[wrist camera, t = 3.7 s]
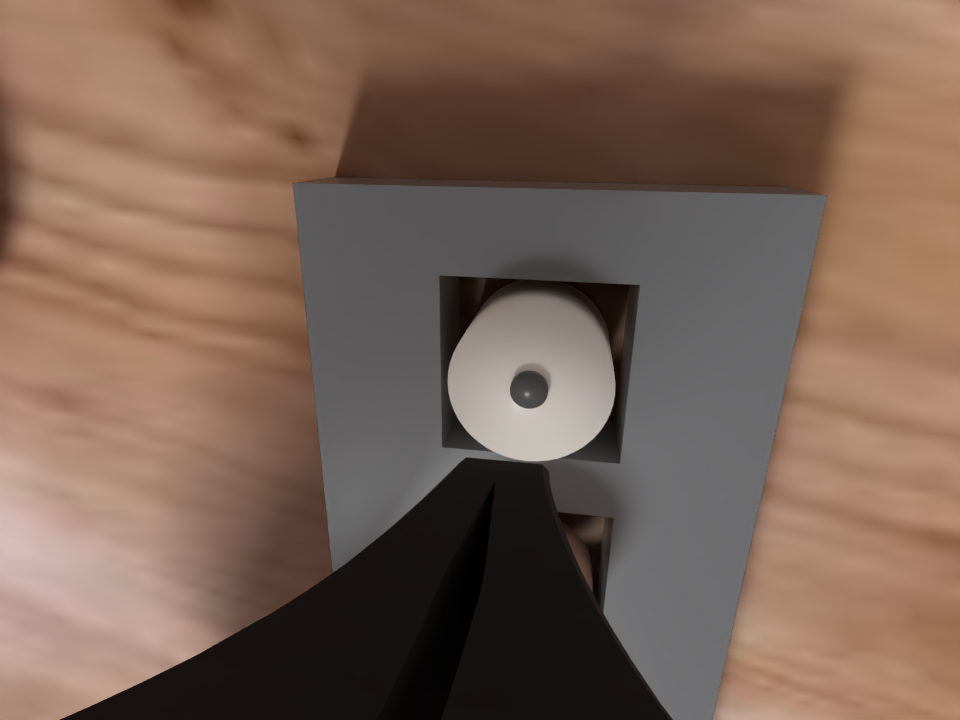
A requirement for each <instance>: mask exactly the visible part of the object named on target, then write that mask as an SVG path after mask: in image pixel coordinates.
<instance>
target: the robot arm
mask: <svg viewBox="0 0 960 720" xmlns="http://www.w3.org/2000/svg"><path fill="white" fill-rule="evenodd" d="M60 720H673V719H672V718H671V716H670V715H669V714H668V712H667V711H666V710H665V708H664V707H663V706H662V704H661V703H660V701H659V700H658V699H657V697H656V696H655V694H654V693H653V691H652V690H651V688H650V687H649V685H648V684H647V682H646V681H645V679H644V678H643V676H642V675H641V673H640V672H639V670H638V669H637V667H636V666H635V664H634V663H633V661H632V660H631V658H630V657H629V655H628V653H627V652H626V650H625V649H624V647H623V645H622V644H621V642H620V640H619V639H618V637H617V636H616V634H615V632H614V631H613V629H612V627H611V626H610V624H609V622H608V620H607V619H606V617H605V615H604V613H603V611H602V610H601V608H600V606H599V604H598V602H597V601H596V599H595V597H594V595H593V593H592V591H591V589H590V587H589V585H588V583H587V581H586V579H585V577H584V575H583V573H582V571H581V569H580V567H579V564H578V562H577V560H576V558H575V556H574V553H573V551H572V548H571V546H570V544H569V541H568V539H567V536H566V534H565V531H564V529H563V527H562V524H561V521H560V518H559V515H558V512H557V509H556V506H555V503H554V499H553V495H552V491H551V486H550V480H549V471H548V470H547V469H546V467H545V466H544V465H543V464H533V463H522V462H512V461H501V460H491V459H480V458H470V457H466V458H465V459H464V460H462V461H461V462H460V463H459V464H458V465H457V466H456V467H455V468H454V469H453V470H452V471H451V472H450V473H449V474H447V475H446V476H445V477H444V478H443V479H442V480H441V481H440V482H439V483H438V484H437V485H436V486H435V487H434V488H433V489H432V490H431V491H430V492H429V493H428V494H427V495H426V496H425V497H424V498H423V499H422V500H421V501H420V502H418V503H417V504H416V505H415V506H414V507H413V508H412V509H411V510H409V511H408V512H407V513H406V514H405V515H404V516H403V517H402V518H401V519H399V520H398V521H397V522H396V523H395V524H394V525H393V526H392V527H390V528H389V529H388V530H387V531H386V532H385V533H383V534H382V535H381V536H380V537H378V538H377V539H376V540H375V541H373V542H372V543H371V544H370V545H368V546H367V547H366V548H365V549H363V550H362V551H361V552H360V553H358V554H357V555H356V556H355V557H353V558H352V559H351V560H350V561H348V562H347V563H346V564H344V565H343V566H342V567H340V568H339V569H338V570H336V571H335V572H333V573H332V574H331V575H329V576H328V577H327V578H325V579H324V580H322V581H321V582H319V583H318V584H316V585H315V586H313V587H312V588H310V589H309V590H307V591H306V592H304V593H303V594H301V595H300V596H298V597H296V598H295V599H293V600H292V601H290V602H289V603H287V604H286V605H284V606H282V607H281V608H279V609H278V610H276V611H274V612H273V613H271V614H269V615H267V616H266V617H264V618H262V619H260V620H258V621H257V622H255V623H253V624H251V625H250V626H248V627H246V628H244V629H242V630H241V631H239V632H237V633H235V634H234V635H232V636H230V637H228V638H226V639H225V640H223V641H221V642H219V643H218V644H216V645H214V646H212V647H210V648H209V649H207V650H205V651H203V652H202V653H200V654H198V655H196V656H194V657H192V658H190V659H188V660H186V661H184V662H182V663H180V664H178V665H176V666H174V667H172V668H170V669H168V670H166V671H164V672H162V673H160V674H158V675H156V676H154V677H152V678H150V679H148V680H146V681H144V682H142V683H140V684H138V685H135V686H133V687H131V688H129V689H127V690H125V691H123V692H120V693H118V694H116V695H114V696H112V697H110V698H107V699H105V700H103V701H101V702H99V703H97V704H94V705H92V706H90V707H88V708H86V709H83V710H81V711H79V712H76V713H74V714H72V715H70V716H67V717H65V718H63V719H60Z"/></svg>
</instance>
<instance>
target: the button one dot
mask: <svg viewBox="0 0 960 720" xmlns="http://www.w3.org/2000/svg"><path fill="white" fill-rule="evenodd" d="M448 392H449V397H450V401H451V404H452V407H453V410H454V412H455V414H456V416H457V418H458V420H459V421H460V422H461V424H462V425H463V427H464V428H465V429H466V430H467V432H468V433H469V434H470V435H471V436H472V437H473V438H474V439H476V440H477V441H478V442H479V443H481V444H482V445H483V446H485V447H486V448H488V449H490V450H492V451H494V452H495V453H498V454H500V455H503V456H505V457H509V458H512V459H516V460H523V461H548V460H553V459H558V458H561V457H564V456H567V455H569V454H571V453H573V452H576V451H577V450H579V449H581V448H582V447H584V446H585V445H586V444H588V443H589V442H590V441H591V440H592V439H593V438H594V437H595V436H596V435H597V434H598V433H599V432H600V431H601V429H602V428H603V426H604V425H605V423H606V421H607V419H608V417H609V415H610V413H611V410H612V407H613V404H614V398H615V376H614V369H613V361H612V354H611V347H610V340H609V333H608V329H607V325H606V323H605V321H604V318H603V316H602V314H601V313H600V311H599V309H598V308H597V307H596V305H595V304H594V303H593V302H592V301H591V300H590V299H589V298H588V297H587V296H586V295H585V294H584V293H582V292H581V291H579V290H578V289H576V288H574V287H573V286H571V285H569V284H566V283H564V282H561V281H547V280H525V279H524V280H520V281H516V282H513V283H511V284H508V285H506V286H504V287H503V288H501V289H499V290H498V291H496V292H495V293H494V294H493V295H491V296H490V297H489V298H488V299H487V300H486V301H485V302H484V304H483V305H482V307H481V308H480V309H479V311H478V313H477V314H476V316H475V317H474V319H473V321H472V322H471V324H470V326H469V327H468V329H467V330H466V332H465V334H464V335H463V337H462V338H461V340H460V342H459V343H458V345H457V347H456V349H455V351H454V353H453V356H452V358H451V361H450V365H449V370H448Z"/></svg>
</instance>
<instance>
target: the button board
mask: <svg viewBox="0 0 960 720" xmlns="http://www.w3.org/2000/svg"><path fill="white" fill-rule="evenodd" d="M293 189H294V199H295V209H296V219H297V228H298V238H299V248H300V258H301V268H302V277H303V287H304V297H305V307H306V317H307V326H308V336H309V346H310V356H311V365H312V375H313V385H314V395H315V405H316V414H317V424H318V434H319V444H320V454H321V463H322V473H323V483H324V493H325V503H326V512H327V522H328V532H329V542H330V551H331V561H332V571H333V572H335V571H336V570H338V569H339V568H340V567H342V566H343V565H344V564H346V563H347V562H348V561H350V560H351V559H352V558H353V557H355V556H356V555H357V554H358V553H360V552H361V551H362V550H363V549H365V548H366V547H367V546H368V545H370V544H371V543H372V542H373V541H375V540H376V539H377V538H378V537H380V536H381V535H382V534H383V533H385V532H386V531H387V530H388V529H389V528H390V527H392V526H393V525H394V524H395V523H396V522H397V521H398V520H399V519H401V518H402V517H403V516H404V515H405V514H406V513H407V512H408V511H409V510H411V509H412V508H413V507H414V506H415V505H416V504H417V503H418V502H420V501H421V500H422V499H423V498H424V497H425V496H426V495H427V494H428V493H429V492H430V491H431V490H432V489H433V488H434V487H435V486H436V485H437V484H438V483H439V482H440V481H441V480H442V479H443V478H444V477H445V476H446V475H447V474H449V473H450V472H451V471H452V470H453V469H454V468H455V467H456V466H457V465H458V464H459V463H460V462H461V461H462V460H464V459H465V458H466V457H470V458H480V459H491V460H501V461H512V462H522V463H533V464H543V465H544V466H545V467H546V469H547V470H548V471H549V480H550V486H551V491H552V495H553V499H554V503H555V506H556V509H557V512H564V513H573V514H582V515H592V516H601V517H605V521H604V531H603V540H602V550H601V559H600V569H599V578H598V588H597V590H593V595H594V597H595V599H596V601H597V602H598V604H599V606H600V608H601V610H602V611H603V613H604V615H605V617H606V619H607V620H608V622H609V624H610V626H611V627H612V629H613V631H614V632H615V634H616V636H617V637H618V639H619V640H620V642H621V644H622V645H623V647H624V649H625V650H626V652H627V653H628V655H629V657H630V658H631V660H632V661H633V663H634V664H635V666H636V667H637V669H638V670H639V672H640V673H641V675H642V676H643V678H644V679H645V681H646V682H647V684H648V685H649V687H650V688H651V690H652V691H653V693H654V694H655V696H656V697H657V699H658V700H659V701H660V703H661V704H662V706H663V707H664V708H665V710H666V711H667V712H668V714H669V715H670V716H671V718H672V719H673V720H712V719H713V714H714V710H715V705H716V701H717V696H718V692H719V687H720V682H721V678H722V673H723V669H724V664H725V660H726V655H727V650H728V646H729V641H730V637H731V632H732V628H733V623H734V618H735V614H736V609H737V605H738V600H739V596H740V591H741V586H742V582H743V577H744V573H745V568H746V564H747V559H748V554H749V550H750V545H751V541H752V536H753V532H754V527H755V522H756V518H757V513H758V509H759V504H760V500H761V495H762V490H763V486H764V481H765V477H766V472H767V468H768V463H769V458H770V454H771V449H772V445H773V440H774V436H775V431H776V426H777V422H778V417H779V413H780V408H781V404H782V399H783V394H784V390H785V385H786V381H787V376H788V372H789V367H790V362H791V358H792V353H793V349H794V344H795V340H796V335H797V330H798V326H799V321H800V317H801V312H802V308H803V303H804V298H805V294H806V289H807V285H808V280H809V276H810V271H811V266H812V262H813V257H814V253H815V248H816V244H817V239H818V234H819V230H820V225H821V221H822V216H823V212H824V207H825V202H826V198H827V195H823V194H819V193H814V192H809V191H805V190H800V189H795V188H791V187H771V186H723V185H676V184H629V183H582V182H535V181H487V180H440V179H393V178H346V177H332V178H325V179H318V180H311V181H304V182H296V183H293ZM459 276H462V277H483V278H504V279H525V280H547V281H568V282H589V283H610V284H629V294H628V303H627V313H626V322H625V331H624V341H623V350H622V360H621V369H620V379H619V388H618V398H617V407H616V417H615V421H606V423H605V425H604V426H603V428H602V429H601V431H600V432H599V433H598V434H597V435H596V436H595V437H594V438H593V439H592V440H591V441H590V442H589V443H588V444H586V445H585V446H584V447H582V448H581V449H579V450H577V451H576V452H573V453H571V454H569V455H567V456H564V457H561V458H558V459H553V460H548V461H523V460H516V459H512V458H509V457H505V456H503V455H500V454H498V453H495V452H494V451H492V450H490V449H488V448H486V447H485V446H483V445H482V444H481V443H479V442H478V441H477V440H476V439H474V438H473V437H472V436H471V435H470V434H469V433H468V432H467V430H466V429H465V428H464V427H463V425H462V424H461V422H460V421H459V420H458V418H457V416H456V414H455V412H454V410H453V407H452V404H451V401H450V397H449V392H448V370H449V365H450V361H451V358H452V356H453V353H454V351H455V349H456V347H457V345H458V343H459V342H460V287H459Z"/></svg>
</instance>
